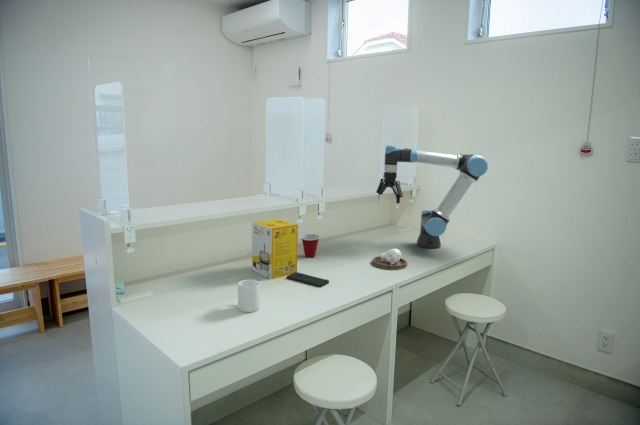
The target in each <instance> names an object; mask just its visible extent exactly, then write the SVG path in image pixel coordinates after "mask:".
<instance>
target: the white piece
mask: <svg viewBox="0 0 640 425" xmlns="http://www.w3.org/2000/svg"><path fill="white" fill-rule="evenodd" d="M380 256H381V259H382V260H383V261H385V260H388V261H389V262H391V260H393V261H394V262H392V263H391V264H390V265H394V264H395V263H396V264H397V263H398V262H399V260H400V258H402V253H401V250H399V249H398V248H391V249H388V251H386V252H382V253H381V254H380Z"/></svg>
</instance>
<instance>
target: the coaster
mask: <svg viewBox="0 0 640 425" xmlns="http://www.w3.org/2000/svg"><path fill="white" fill-rule="evenodd" d="M392 262H394V261H393V260H391V262H389V261H388V260H385V261H383V260H382V259H381V255H379V256H374V257H373V258H372V260H371V263H372V265H373V266H374V267H377V268H379V269H381V270H382V269H384V270H389V271H390V270H391V271H393V270H396V271H399V270H403V269H406V268H407V267H408V261H407V260H406V259H404V258H403V257H401V258H400V260H399V262H398V263H397V264H396V263H395V264H394V265H390V264H391V263H392Z"/></svg>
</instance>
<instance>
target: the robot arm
mask: <svg viewBox="0 0 640 425" xmlns="http://www.w3.org/2000/svg"><path fill="white" fill-rule="evenodd" d="M398 163H411V164H412V163H413V164H414V163H418V164H426V165H433V166H434V165H435V166H440V167H447V168H454V170H458V171H459V173H458V174H459V176H458V177H457V178H456V180H455V181H454V183H453V184H452V186H451V187H450V188H449V190H448V191H447V193H446V194H445V196H444V197H443V199H442V201H441V202H440V203H439V205H438V206H437V208H435V209H432V210H429V209H427V210H426V209H424V210H422V211H421V214H420V228H419V229H420V232H419V235H418V237H417V240H416V246H417V247H420V248H424V249H440V248H441V246H442V243H441V238H440V236H441V235H443V234H444V233H445V232H446V229H447V225H448V224H449V222H450V220H451V219H450V216H451V215H452V213H453V212H454V210H455V209H456V208H457V206H458V205H459V203H460V202H461V200H462V198H463V197H464V196H465V194H466V193H467V191H468V190H469V188H470V187H471V186H472V185H473V183H477V181H479V179H480V177H482V176H484V174H486V173H487V171H488V167H489V163H488V160H487V158H484V156H482V155H480V154H474V153H473V154H471V153H470V154H462V153H461V154H460V153H457V154H448V153H440V152H436V151H435V152H434V151H427V150H421V149H420V150H419V149H412V148H406V147H404V148H401V149H400V148H399V146H398V145H386V146H385V150H384V165H383V166H384V172H383V178H381V179H380V181H379V184H378V187H377V189H376V194H378V206H383V204H384V192H385V191H386V189H387V188H391V189H392V191H393V193H394V195H395V198H394V209H396V210H397V209H399V208H400V204H401V203H400V202H401V198H403V197H404V196H403V194H404V193H403V191H402V187H401V185H400V184H401V183H400V180H396V179H397V177H398V176H397V175H398V173H397V172H398Z"/></svg>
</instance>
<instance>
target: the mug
mask: <svg viewBox="0 0 640 425" xmlns="http://www.w3.org/2000/svg"><path fill="white" fill-rule="evenodd" d="M237 306H238V307H237V308H238V310H239V311H240V312H243V313H255V312H257V311H259V309H260V306H261V282H260V281H259V280H257V279H243V280H241V281H239V282H237Z"/></svg>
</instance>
